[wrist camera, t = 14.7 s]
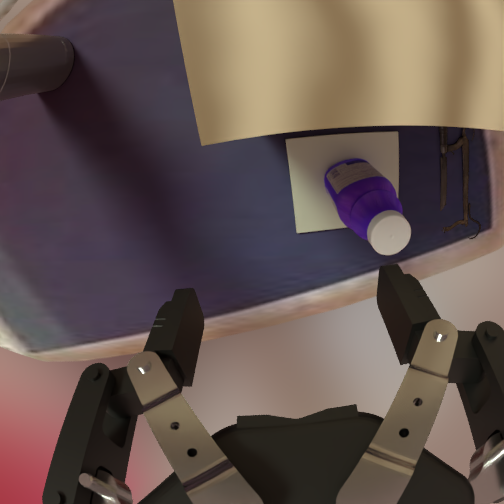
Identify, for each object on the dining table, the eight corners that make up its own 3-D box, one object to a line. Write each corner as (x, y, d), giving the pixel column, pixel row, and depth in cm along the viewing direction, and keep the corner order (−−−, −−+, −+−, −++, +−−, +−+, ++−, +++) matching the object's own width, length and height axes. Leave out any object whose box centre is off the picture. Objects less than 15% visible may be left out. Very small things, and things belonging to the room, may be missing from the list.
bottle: (328, 203, 42) (362, 274, 27) (316, 167, 39) (348, 223, 24) (374, 187, 40) (430, 248, 25) (364, 150, 37) (423, 196, 22)
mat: (296, 231, 45) (296, 233, 44) (285, 139, 38) (285, 139, 37) (395, 220, 43) (397, 221, 42) (396, 131, 36) (398, 132, 35)
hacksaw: (433, 106, 33) (438, 107, 32) (481, 106, 32) (487, 107, 31) (435, 246, 45) (439, 250, 44) (478, 236, 44) (482, 240, 42)
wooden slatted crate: (241, 108, 36) (201, 145, 13) (218, -12, 26) (155, -123, 4) (424, 98, 33) (572, 143, 10) (406, -14, 24) (530, -65, 1)
